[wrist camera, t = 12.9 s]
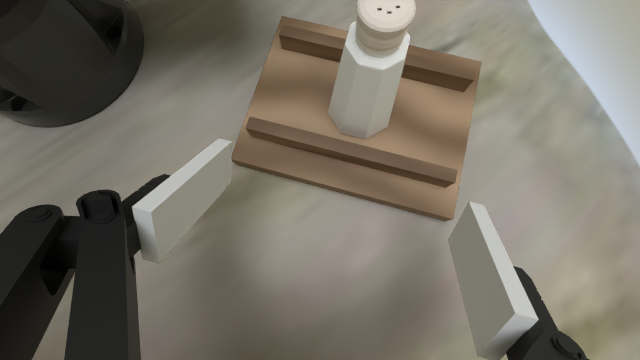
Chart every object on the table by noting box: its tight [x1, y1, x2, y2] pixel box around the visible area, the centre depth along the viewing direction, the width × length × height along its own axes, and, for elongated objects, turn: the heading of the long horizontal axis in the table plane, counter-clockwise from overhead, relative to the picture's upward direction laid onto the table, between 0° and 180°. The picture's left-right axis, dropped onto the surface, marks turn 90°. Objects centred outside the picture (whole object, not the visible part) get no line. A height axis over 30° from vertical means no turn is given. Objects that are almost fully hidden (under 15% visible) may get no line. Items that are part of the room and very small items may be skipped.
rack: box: [231, 16, 481, 221], centre depth 25 cm, size 14×18×3 cm
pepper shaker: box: [328, 0, 416, 139], centre depth 19 cm, size 5×5×11 cm
